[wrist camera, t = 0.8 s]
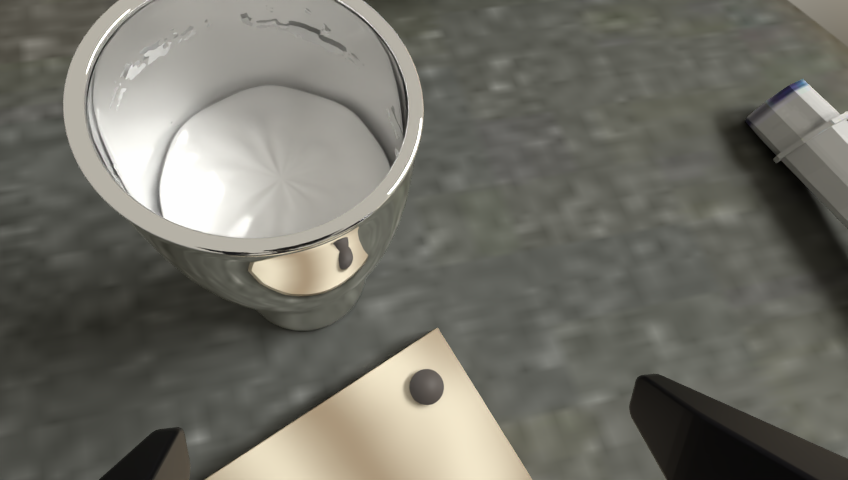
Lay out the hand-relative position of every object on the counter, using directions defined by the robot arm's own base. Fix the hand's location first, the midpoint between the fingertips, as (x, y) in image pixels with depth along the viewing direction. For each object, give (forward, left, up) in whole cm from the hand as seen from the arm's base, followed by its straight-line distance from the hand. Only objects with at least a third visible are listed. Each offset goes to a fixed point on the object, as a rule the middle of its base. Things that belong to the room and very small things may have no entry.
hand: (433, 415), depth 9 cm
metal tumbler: (0, +7, -14) cm, 16 cm away
